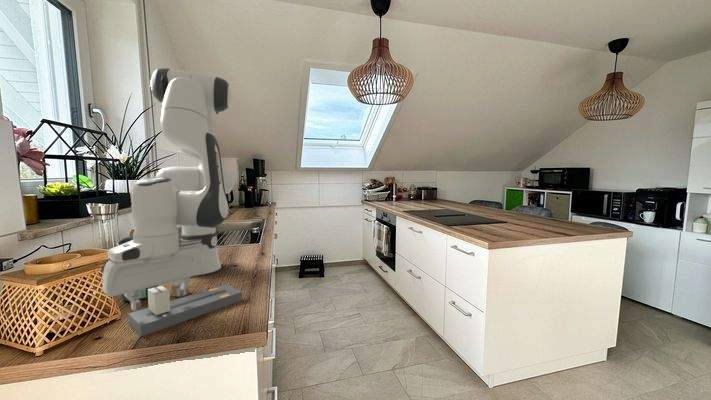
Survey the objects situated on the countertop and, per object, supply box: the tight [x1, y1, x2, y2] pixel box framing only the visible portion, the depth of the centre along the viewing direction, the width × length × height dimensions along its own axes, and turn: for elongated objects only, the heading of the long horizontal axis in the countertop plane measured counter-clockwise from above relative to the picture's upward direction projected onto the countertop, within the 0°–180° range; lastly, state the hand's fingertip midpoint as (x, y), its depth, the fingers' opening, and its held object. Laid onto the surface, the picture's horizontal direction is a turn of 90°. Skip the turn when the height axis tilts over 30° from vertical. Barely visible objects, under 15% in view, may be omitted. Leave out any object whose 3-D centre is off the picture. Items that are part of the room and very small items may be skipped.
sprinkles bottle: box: [170, 280, 190, 298], centre depth 85 cm, size 5×5×13 cm
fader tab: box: [147, 285, 171, 315], centre depth 69 cm, size 3×5×5 cm, turn 52°
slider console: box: [128, 284, 243, 337], centre depth 75 cm, size 24×9×3 cm, turn 142°
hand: (160, 301), depth 69 cm, fingers open, 8 cm apart
